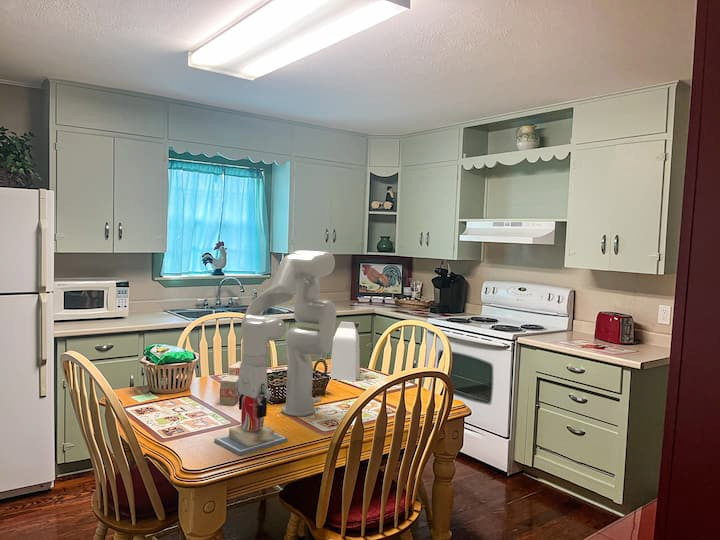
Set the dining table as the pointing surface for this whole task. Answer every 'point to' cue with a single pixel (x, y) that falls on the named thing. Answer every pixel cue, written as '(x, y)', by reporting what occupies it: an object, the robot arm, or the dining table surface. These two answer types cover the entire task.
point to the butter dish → (249, 440)
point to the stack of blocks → (230, 386)
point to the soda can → (250, 415)
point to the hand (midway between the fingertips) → (252, 412)
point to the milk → (345, 353)
